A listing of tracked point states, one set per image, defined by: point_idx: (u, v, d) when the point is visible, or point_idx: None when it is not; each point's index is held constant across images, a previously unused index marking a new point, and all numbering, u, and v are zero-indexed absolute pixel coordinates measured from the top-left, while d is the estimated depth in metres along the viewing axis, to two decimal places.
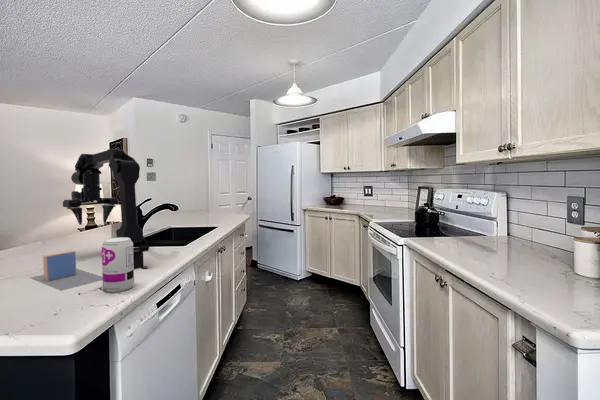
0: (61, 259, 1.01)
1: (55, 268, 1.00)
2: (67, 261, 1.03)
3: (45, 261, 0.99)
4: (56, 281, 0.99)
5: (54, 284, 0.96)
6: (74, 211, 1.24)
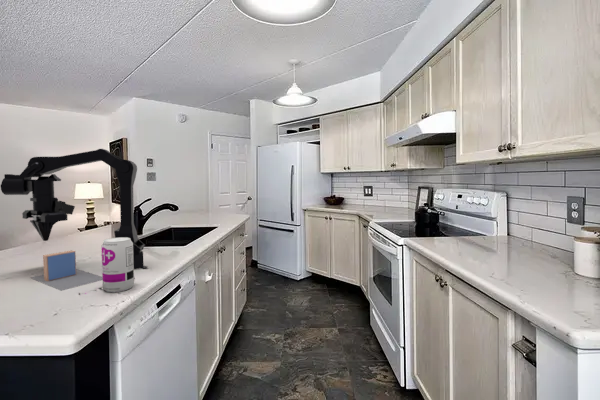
0: (61, 259, 1.01)
1: (55, 268, 1.00)
2: (67, 261, 1.03)
3: (45, 261, 0.99)
4: (56, 281, 0.99)
5: (54, 284, 0.96)
6: None
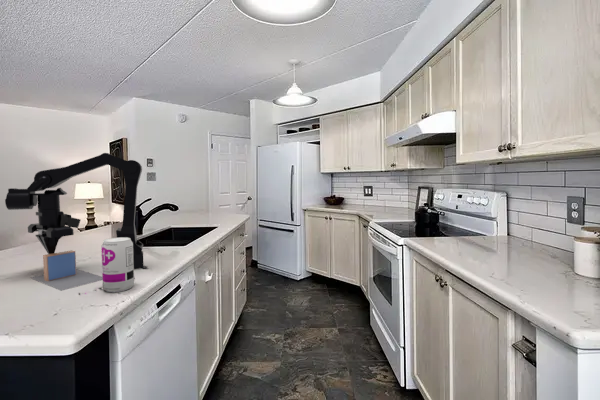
0: (61, 259, 1.01)
1: (55, 268, 1.00)
2: (67, 261, 1.03)
3: (45, 261, 0.99)
4: (56, 281, 0.99)
5: (54, 284, 0.96)
6: None
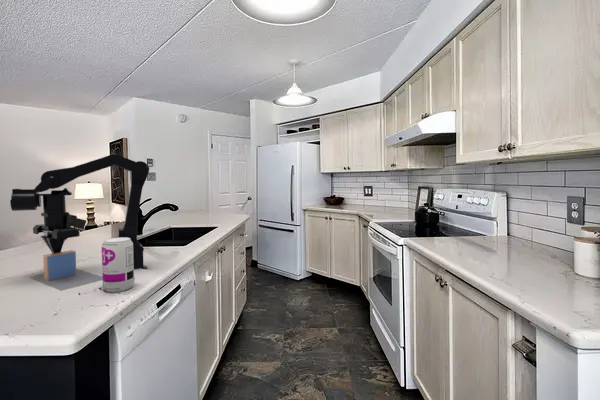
0: (61, 259, 1.01)
1: (55, 268, 1.00)
2: (67, 261, 1.03)
3: (45, 261, 0.98)
4: (56, 281, 0.99)
5: (54, 284, 0.96)
6: None
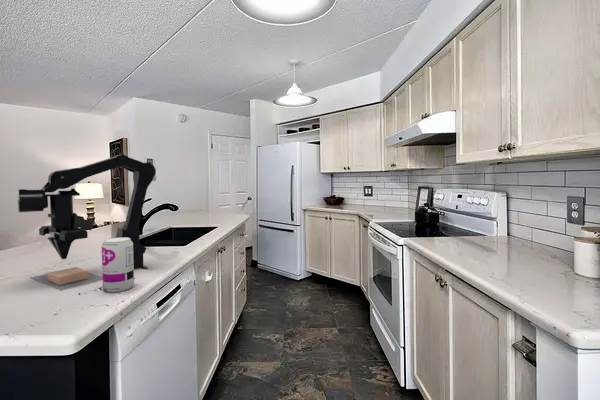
0: None
1: None
2: None
3: (56, 281, 0.95)
4: None
5: (54, 284, 0.96)
6: None
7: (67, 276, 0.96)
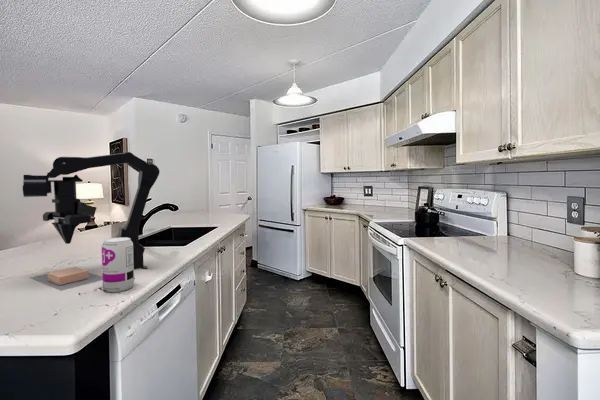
0: None
1: None
2: None
3: (56, 281, 0.95)
4: None
5: (54, 284, 0.96)
6: None
7: (67, 276, 0.96)
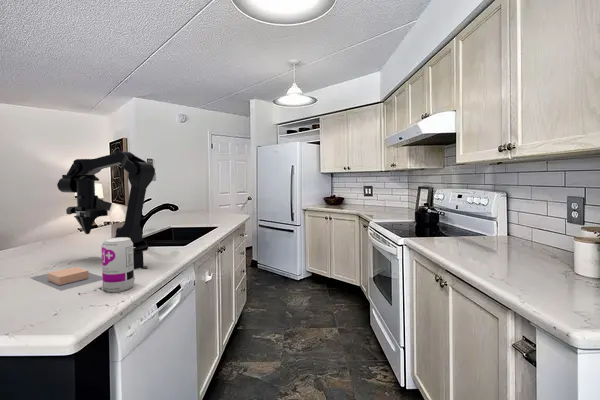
0: None
1: None
2: None
3: (56, 281, 0.95)
4: None
5: (54, 284, 0.96)
6: None
7: (67, 276, 0.96)
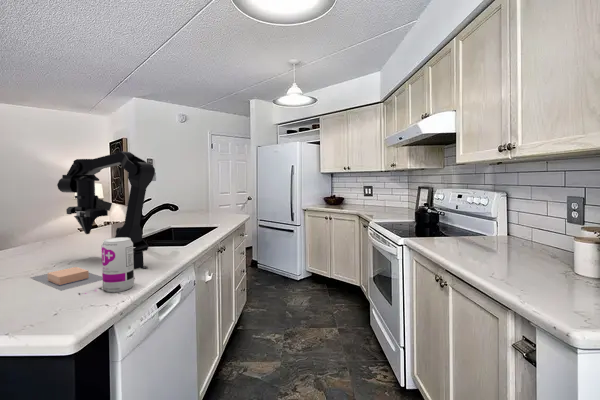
0: None
1: None
2: None
3: (56, 281, 0.95)
4: None
5: (54, 284, 0.96)
6: None
7: (67, 276, 0.96)
